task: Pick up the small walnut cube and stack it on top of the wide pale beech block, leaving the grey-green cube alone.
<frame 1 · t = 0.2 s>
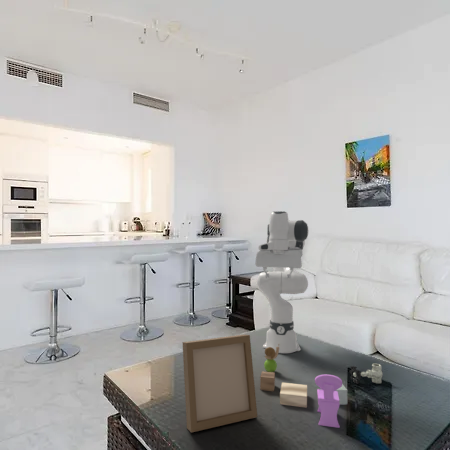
hand: (278, 278, 151), 39 cm above the table, fingers open, 8 cm apart
toy chair: (328, 419, 109), on the table
valve: (367, 382, 136), on the table
grey-green cube: (337, 401, 121), on the table
snail figurine: (271, 372, 145), on the table
beech block: (293, 400, 121), on the table
photo frame: (216, 416, 110), on the table
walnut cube: (267, 387, 130), on the table
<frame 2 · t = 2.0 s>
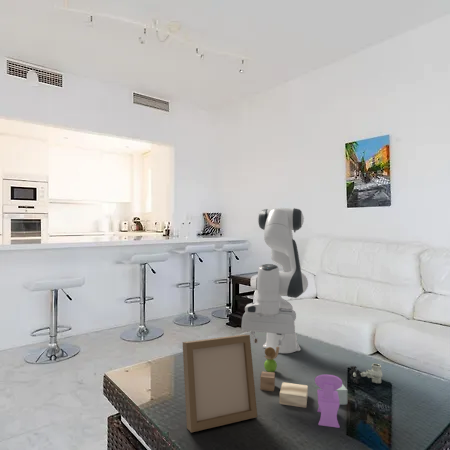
hand: (267, 344, 130), 17 cm above the table, fingers open, 8 cm apart
nothing on the table moved.
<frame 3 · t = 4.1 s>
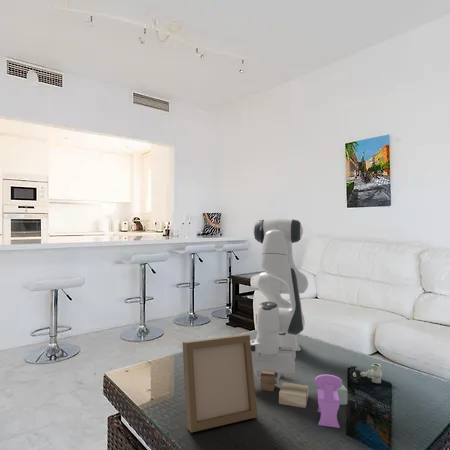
hand: (267, 382, 130), 2 cm above the table, fingers closed on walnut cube, 5 cm apart
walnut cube: (267, 387, 130), on the table, touching gripper
everything else where it was.
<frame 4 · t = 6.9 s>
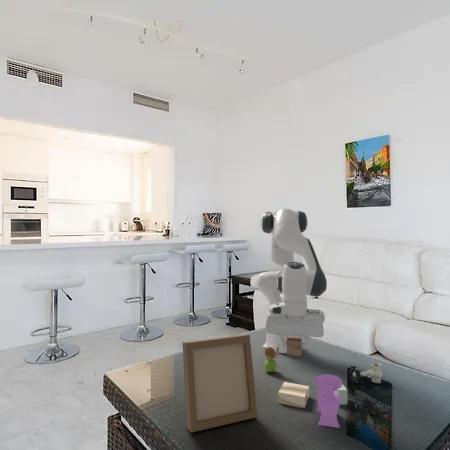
hand: (294, 347, 121), 18 cm above the table, fingers closed on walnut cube, 5 cm apart
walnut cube: (294, 353, 121), point 16 cm above the table, touching gripper
everything else where it was.
when the fingers open (7 cm above the table, at t = 9.7 s): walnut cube drops 1 cm, resting on beech block.
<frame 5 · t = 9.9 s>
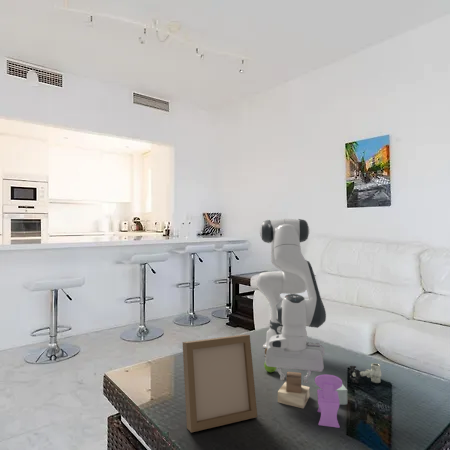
hand: (293, 380, 121), 7 cm above the table, fingers open, 7 cm apart
beech block: (293, 400, 121), on the table, touching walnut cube
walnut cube: (293, 389, 121), point 4 cm above the table, touching beech block
everything else where it was.
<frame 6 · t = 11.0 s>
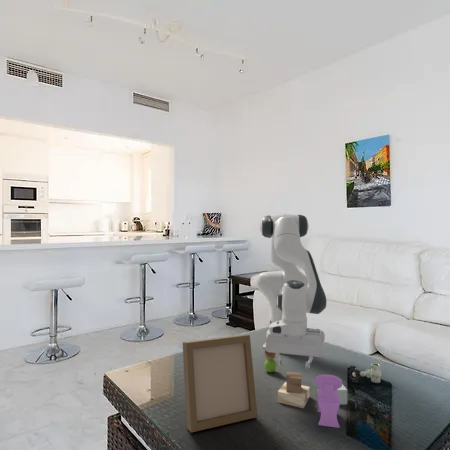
hand: (294, 366, 122), 12 cm above the table, fingers open, 8 cm apart
nothing on the table moved.
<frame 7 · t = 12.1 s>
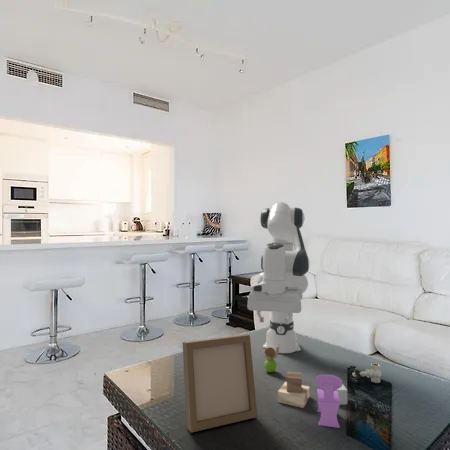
hand: (274, 323, 130), 25 cm above the table, fingers open, 8 cm apart
nothing on the table moved.
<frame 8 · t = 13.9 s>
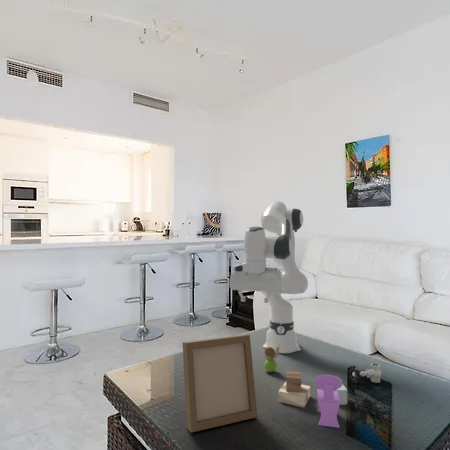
hand: (254, 301, 137), 31 cm above the table, fingers open, 8 cm apart
nothing on the table moved.
at the end: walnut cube inside the target area on the beech block (0.4 cm from its centre), point 4.0 cm above the beech block's base; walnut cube tilted 0°; the gripper is holding nothing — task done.
